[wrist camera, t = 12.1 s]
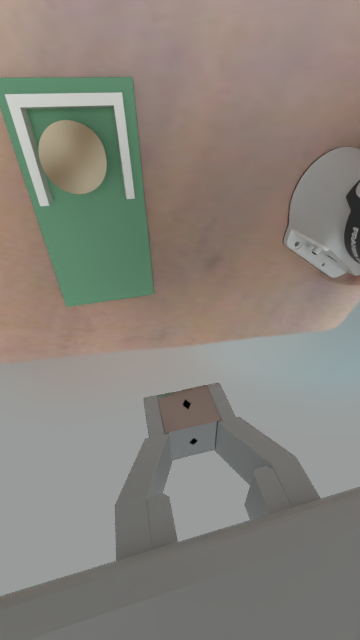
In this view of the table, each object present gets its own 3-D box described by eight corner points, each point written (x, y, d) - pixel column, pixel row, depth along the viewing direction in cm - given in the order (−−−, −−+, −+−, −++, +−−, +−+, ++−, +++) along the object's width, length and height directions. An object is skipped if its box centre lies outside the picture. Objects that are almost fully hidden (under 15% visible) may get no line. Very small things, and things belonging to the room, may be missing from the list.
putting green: (153, 292, 45) (157, 303, 42) (66, 304, 43) (64, 317, 40) (131, 78, 29) (134, 72, 27) (-8, 78, 27) (-21, 72, 24)
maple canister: (115, 151, 32) (119, 157, 26) (87, 192, 34) (84, 207, 28) (69, 108, 29) (60, 101, 23) (41, 155, 31) (25, 162, 25)
